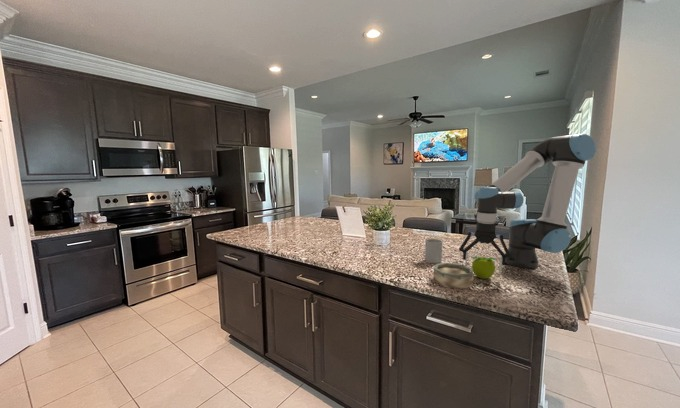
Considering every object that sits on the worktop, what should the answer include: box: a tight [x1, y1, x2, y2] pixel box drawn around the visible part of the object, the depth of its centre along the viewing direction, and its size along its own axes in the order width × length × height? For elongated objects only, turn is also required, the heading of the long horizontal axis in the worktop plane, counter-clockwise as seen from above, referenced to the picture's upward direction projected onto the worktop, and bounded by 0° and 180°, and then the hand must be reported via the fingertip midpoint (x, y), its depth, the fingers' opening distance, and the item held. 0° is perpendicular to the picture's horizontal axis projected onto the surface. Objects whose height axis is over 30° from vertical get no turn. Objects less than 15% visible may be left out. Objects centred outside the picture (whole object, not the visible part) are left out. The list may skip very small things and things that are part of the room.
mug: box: [424, 238, 443, 264], centre depth 152 cm, size 12×8×11 cm
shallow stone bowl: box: [432, 262, 474, 290], centre depth 124 cm, size 16×16×6 cm
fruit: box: [471, 256, 497, 280], centre depth 127 cm, size 9×9×10 cm
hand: (482, 269), depth 127 cm, fingers open, 13 cm apart
